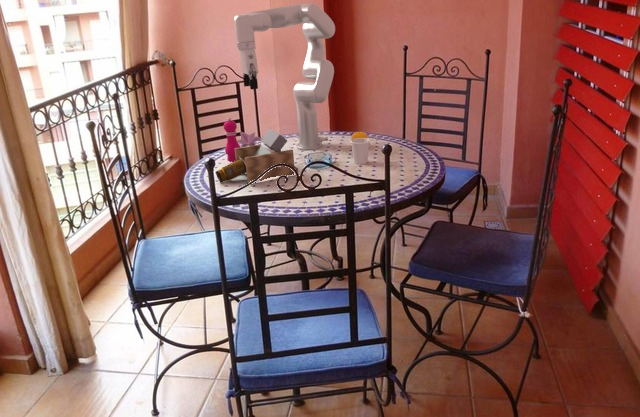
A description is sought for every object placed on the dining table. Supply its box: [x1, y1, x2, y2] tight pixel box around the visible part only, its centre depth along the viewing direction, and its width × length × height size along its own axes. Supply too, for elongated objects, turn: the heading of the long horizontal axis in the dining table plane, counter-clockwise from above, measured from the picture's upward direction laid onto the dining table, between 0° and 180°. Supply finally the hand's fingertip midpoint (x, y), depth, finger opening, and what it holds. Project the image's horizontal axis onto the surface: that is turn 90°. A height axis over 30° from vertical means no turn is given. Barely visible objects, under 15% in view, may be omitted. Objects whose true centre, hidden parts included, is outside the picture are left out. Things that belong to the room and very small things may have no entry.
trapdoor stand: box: [235, 142, 299, 184], centre depth 229 cm, size 21×18×11 cm
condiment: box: [215, 157, 247, 184], centre depth 224 cm, size 7×8×12 cm
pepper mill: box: [223, 117, 241, 163], centre depth 251 cm, size 7×7×20 cm
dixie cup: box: [350, 137, 371, 166], centre depth 236 cm, size 8×8×10 cm
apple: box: [350, 131, 369, 141], centre depth 260 cm, size 8×8×8 cm
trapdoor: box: [245, 128, 288, 175], centre depth 228 cm, size 21×14×4 cm
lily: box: [237, 131, 263, 147], centre depth 268 cm, size 12×12×10 cm
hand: (251, 87), depth 233 cm, fingers open, 9 cm apart
